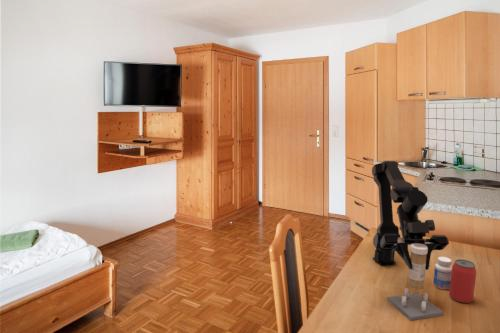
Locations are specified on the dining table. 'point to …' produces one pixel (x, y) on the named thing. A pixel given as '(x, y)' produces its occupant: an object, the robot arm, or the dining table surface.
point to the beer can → (462, 281)
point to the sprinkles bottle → (417, 266)
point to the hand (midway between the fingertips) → (419, 269)
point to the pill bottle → (443, 273)
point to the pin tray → (415, 305)
